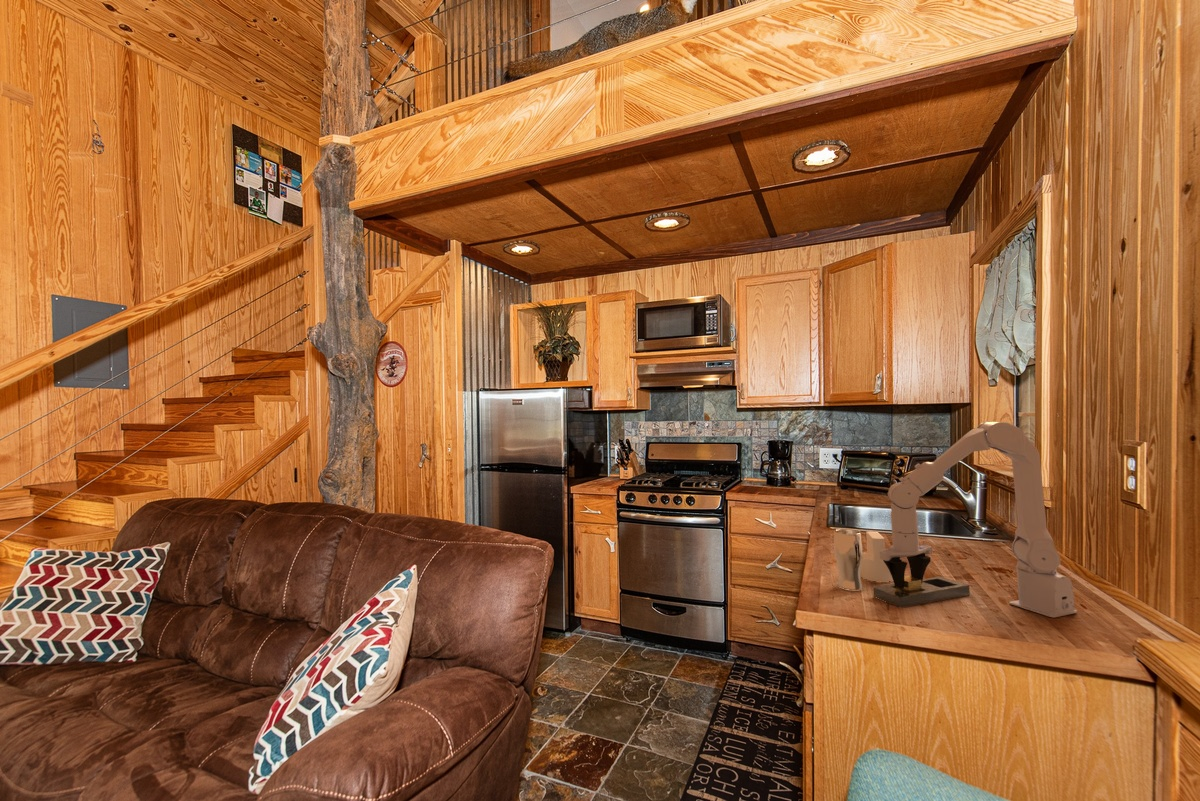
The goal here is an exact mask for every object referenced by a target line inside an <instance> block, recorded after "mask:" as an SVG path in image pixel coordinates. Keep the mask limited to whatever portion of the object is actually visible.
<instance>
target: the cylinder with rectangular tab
mask: <svg viewBox="0 0 1200 801" xmlns="http://www.w3.org/2000/svg"><path fill="white" fill-rule="evenodd" d="M865 534H866V535H865V536H866V552H865V551H864V552H863V555H862V564H861V577H863V578H865V579H868V580H872V581H881V582H887V583H890V582H889V581H893V578H892V576H891V573H890V571H889V569H888V567H887V566H886V564H885V563H884V561H883V560H882V559H880V551H884V550H886V540H885V539H886V538H885V537H884V536H883V535H882V534H880V532H878V531H870V530H868V531H865ZM868 580H867V581H868ZM872 581H871V582H872ZM881 582H880V583H881ZM893 582H894V581H893Z"/></svg>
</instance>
